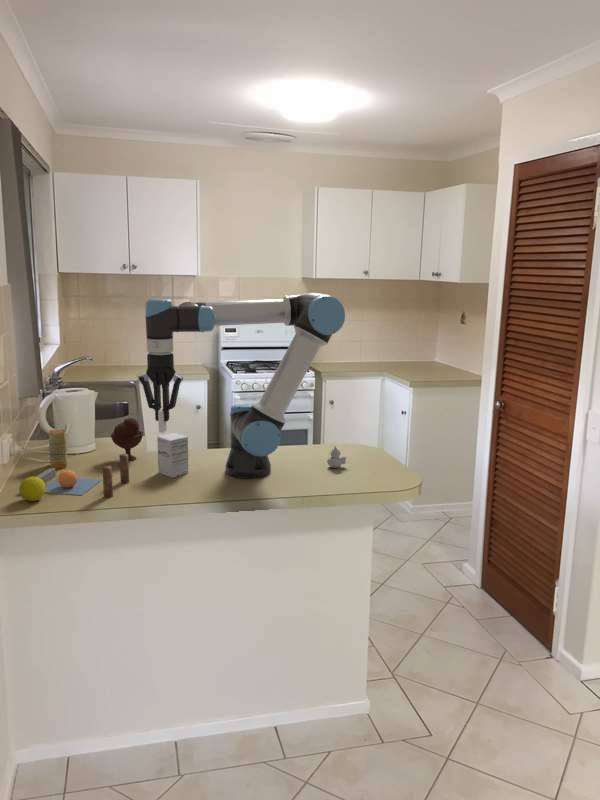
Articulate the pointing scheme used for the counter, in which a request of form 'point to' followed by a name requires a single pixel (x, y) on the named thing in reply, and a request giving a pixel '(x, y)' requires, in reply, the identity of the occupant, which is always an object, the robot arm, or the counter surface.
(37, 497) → the tennis ball
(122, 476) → the right post
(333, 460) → the grey figurine
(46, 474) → the blue-grey rod
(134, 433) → the ice cream bowl
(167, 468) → the supplement box
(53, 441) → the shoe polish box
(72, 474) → the ball
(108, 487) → the left post
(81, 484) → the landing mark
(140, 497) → the counter surface
